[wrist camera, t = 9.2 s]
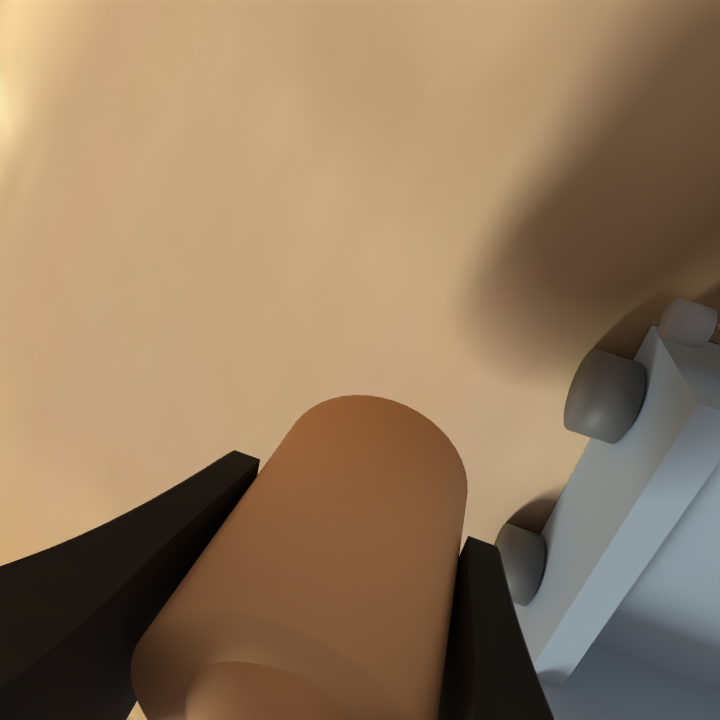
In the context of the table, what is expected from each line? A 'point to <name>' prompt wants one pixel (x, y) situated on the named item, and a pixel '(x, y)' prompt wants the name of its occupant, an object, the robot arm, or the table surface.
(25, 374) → the table surface
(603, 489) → the box
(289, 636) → the tan hollow cylinder
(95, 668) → the robot arm
